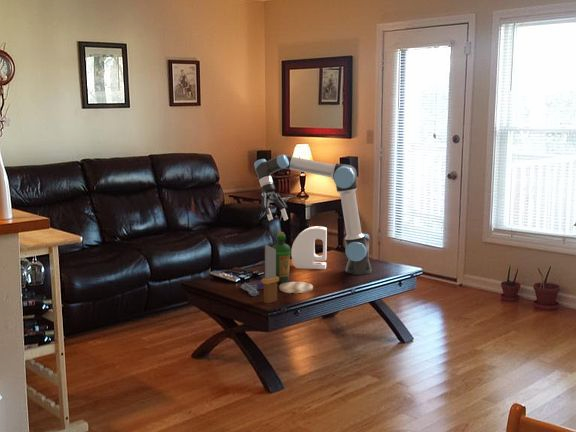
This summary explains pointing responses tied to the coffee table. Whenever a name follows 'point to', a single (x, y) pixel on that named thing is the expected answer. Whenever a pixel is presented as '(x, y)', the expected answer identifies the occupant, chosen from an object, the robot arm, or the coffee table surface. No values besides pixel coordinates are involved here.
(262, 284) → the toy gun
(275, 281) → the knife
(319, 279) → the coffee table surface
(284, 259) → the bottle
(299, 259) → the bracket
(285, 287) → the serving board
